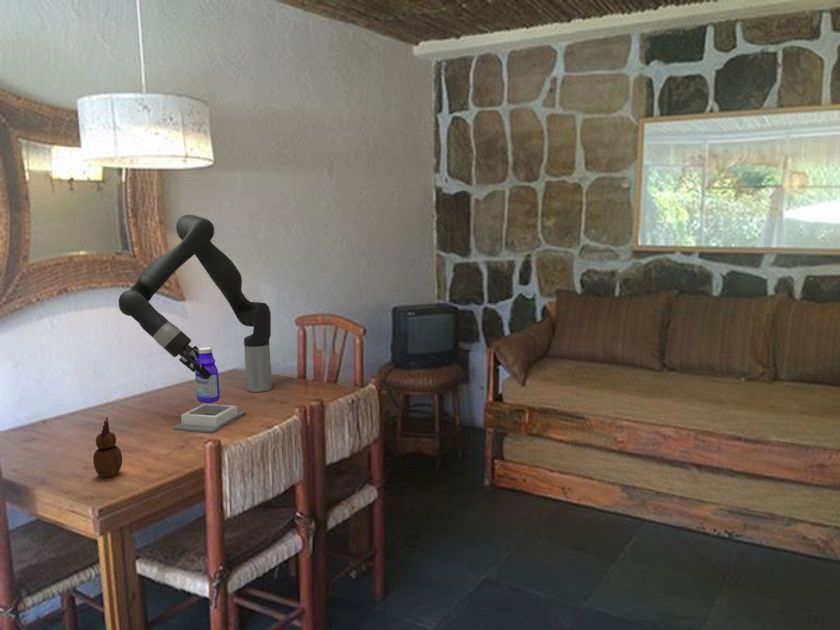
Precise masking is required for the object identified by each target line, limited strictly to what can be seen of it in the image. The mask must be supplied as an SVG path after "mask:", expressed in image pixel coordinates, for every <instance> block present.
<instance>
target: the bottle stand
mask: <svg viewBox="0 0 840 630" xmlns="http://www.w3.org/2000/svg"><path fill="white" fill-rule="evenodd" d="M244 414H245V415H246V414H247V412H246V411H243V410H238V406H237V405H229V404H217V403H216V404H214V403H202V404H200V405H197V406H196V407H194V408H192V409H190V410H188V411H186V412H184V413H181V414H180V415H181V416H180V417H181V419H180V420H181V422H180V423H178V424H177V425H174V426H172V429H171V430H172V431H178V432H179V431H181V432H183V431H184V432H192V433H203V434H214V433H216V432H217V431H219V430H221V429H222V428H224V427H226V426H227V424H228V425H230V424H231V423H233V422H234V421H237V420H238V419H240V418H242V417H243V416H245V415H244ZM242 415H243V416H242ZM239 417H240V418H239ZM237 418H238V419H237ZM232 421H233V422H232ZM230 422H231V423H230ZM225 425H226V426H225ZM223 426H224V427H223ZM220 428H221V429H220Z"/></svg>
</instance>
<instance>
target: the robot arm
mask: <svg viewBox="0 0 840 630" xmlns="http://www.w3.org/2000/svg"><path fill="white" fill-rule="evenodd" d="M175 227H176V228H175V230H176V233H177V235H178V237H179V239H180V240H181V242H179V243H178V244H177V245H176V246H174V248H172V249H171V250H169V251H168V252H166V253H164V254H162V255H161V256H159V257H158V258H156V259H155V260H153V261H152V262H151V263H150V264H149V265H148V266H147V267H146V268H145V270H144V271H143V272H142V273H141V274H140V275H139V276H138V278H137V280H136V282H135V283H134V285H133V286H132V287H131V288H130V289H128V290H125V291H123V292H122V293H121V294H120V295H119V297H118V307H119V310H120V312H121V313H122V314H123V315H125V316H128V317H131V318H132V319H134V320H135V321H136V322H137V323H138V324H139V326H140V327H141V329H143V331H145V332H146V333H147V335H149V336H150V337H151V338H153V339H154V341H155V342H156V343H157V344H158V345H159V346H161V347H162V349H163V350H165V351H166V352H167V353H169V354H170V355H171V356H172V357H173V358H176V357H178V356H180V358H179V359H178V360H179V362H181V364H183V365H184V366H185V367H186V368H187V369H189V370H190V371H191V372H193V373H195V372H198V373H200V374H201V375H202V376H203V377H204V378H205V379H208V378H209V377H210V376H211V373H210V372H209V371H208V370H207V369H205V368H204V367H203V366H202V365H201V363H200V362H199V361H200V360H199V358H198V357H199V350H198V349H199V348H200V347H198V346H197V345H194V346H193V347H192V346H191V345H190V344H191V342H192V339H191V338H190V337H189V336H188V335H187V334H186V333H185V332H183V331H182V330H181V329H180V328H179V327H178V326H176V325H175V323H172V322H171V321H170V320H168V319H167V318H166V317H165V316H164V315H163V314H162V313H160V312H159V311H157V310H156V308H154V307H155V306H153V305H152V304H151V303H150V301H151V300H152V298H153V296H154V295H155V294H156V293H157V292H158V291H159V290H161V288H162V287H163V286H164V284H165V283H166V282H167V281H168V280H169V279H170V277H172V276H173V274H174V273H175V272H176V271H177V270H179V268H181V267H182V266H183V265H184V264H185V263H186V262H188V261H189V259H191V258H192V257H193V256H194V255H195V257H196V258H197V259H198V261H199V263H200V264H201V266H202V267H203V269H204V270H205V271H206V273H207V275H208V276H209V277H210V279H211V280H212V281H213V283H214V284H215V285H216V287H217V288H218V289H219V291H220V292H221V293H222V295H223V296H224V299H226V301H227V302H228V303H229V305H230V307H231V309H232V311H233V313H234V315H235V317H236V319H237V320H238V321H239V322H240V324H242V325H243V326H245V327H251V328H252V327H253V329H252V331H253V332H252V334H250V335H248V336H245V337H244V338H243V347H244V348H243V349H244V363H245V365H244V366H245V383H246V391H247V392H252V393H260V392H261V393H263V392H268V391H270V390H271V389H272V388H273V378H272V377H273V375H272V363H271V351H270V350H271V349H270V339H271V336H272V335H271V334H272V332H271V330H272V327H271V326H272V325H271V324H272V321H271V319H272V316H271V310H270V307H269V305H268V304H267V303H265V302H261V301H257V302H256V301H250V300H249V299H247V297H246V296H245V294H244V292H243V291H242V286H243V279H242V274H241V272H240V271H239V269H238V267H237V266H236V265H235V264H234V262H233V260H231V259H230V258H229V256H227V255H226V253H224V252H223V251H221V250H220V249H219V248H218V247H217V246H216V245H215V244H214V243H213V242H212V241H211V240H212V239H213V238H214V235H215V227H214V224H213V222H212V221H211V220H209V219H207V218H205V217H201V216H198V215H195V214H184V215H182V216H181V217H179V218H178V220H177V221H176V225H175Z"/></svg>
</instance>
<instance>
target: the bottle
mask: <svg viewBox="0 0 840 630" xmlns="http://www.w3.org/2000/svg"><path fill="white" fill-rule="evenodd" d="M198 348H199V349H198V350H199V357H198V358H199V360H200V361H199V362H200V363H201V365H202V366H203V367H204V368H205V369H207V370H208V371H209V372H210V373H211V376H210V377H209V378H208V379H205V378H204V377H203V376H202V375H201V374H200V373H198V372H194V374H195V375H194V376H195V387H196V389H195V390H196V399H197V401H198V402H199V403H202V404H214V403H216V402H218V401H219V400H220V396H221V394H220V383H219V382H220V381H219V380H220V379H219V371H218V370H219V369H218V367H217V365H216V364H215V363H216V359H215V358H214V355H213V348H212V347H209V346H207V347H205V346H204V347H198Z"/></svg>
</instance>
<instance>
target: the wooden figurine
mask: <svg viewBox="0 0 840 630" xmlns="http://www.w3.org/2000/svg"><path fill="white" fill-rule="evenodd" d="M116 436H117V435H116V434H115V433H114V432H112V431H110V425H109V419H108V416H106V418H105V420H103V425H102V429H101V432H100V433H99V434H98V435H97V436H96V437H95V446H96V447H97V449H96V450H95V451H94V452H93V453H94V454H93V458H92V459H93V460H92V462H93V466H94V469H95V472H96V473H97V475H98V476H99V477H100V476H101V478H111V477H113V475H114V476H116V475H117V474H119V472H120V470H121V468H122V464H123V455H122V451H121V449H120V447H118V445H117V437H116ZM110 476H111V477H110Z"/></svg>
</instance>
